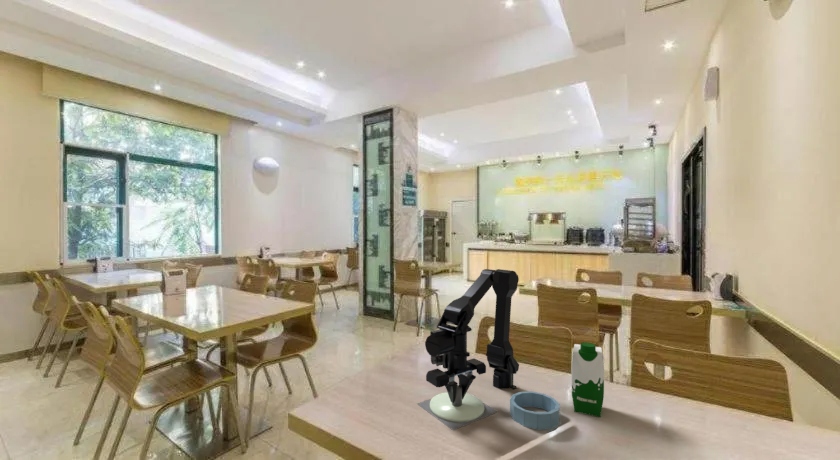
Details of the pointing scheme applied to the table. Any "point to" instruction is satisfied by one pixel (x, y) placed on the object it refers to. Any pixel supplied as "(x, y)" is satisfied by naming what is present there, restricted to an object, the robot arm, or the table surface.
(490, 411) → the mat
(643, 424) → the table surface
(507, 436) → the table surface
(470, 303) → the robot arm
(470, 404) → the lid
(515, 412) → the ring
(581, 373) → the milk carton
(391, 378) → the table surface
